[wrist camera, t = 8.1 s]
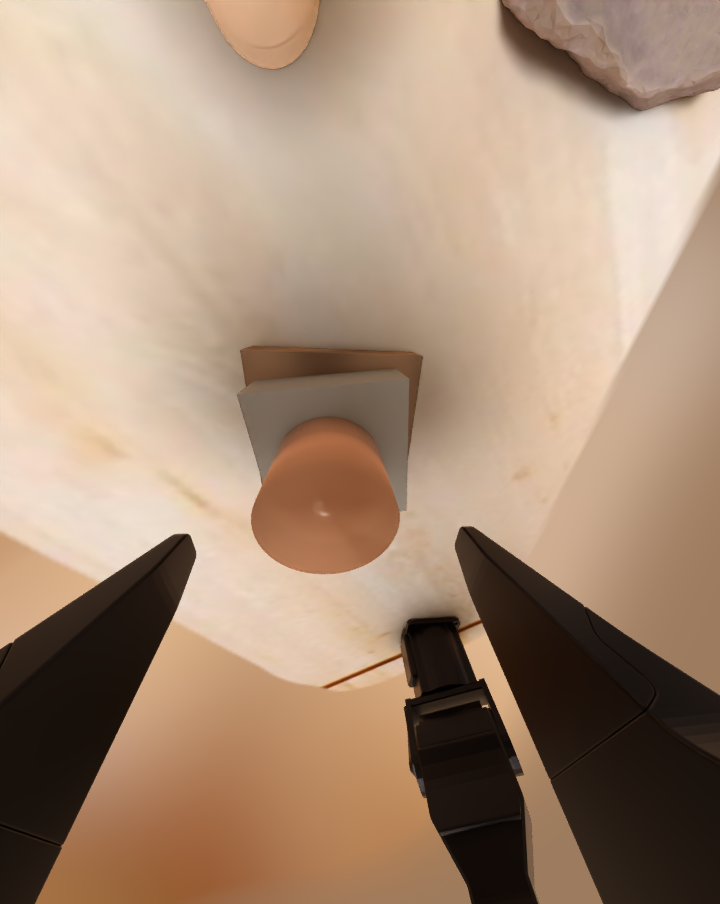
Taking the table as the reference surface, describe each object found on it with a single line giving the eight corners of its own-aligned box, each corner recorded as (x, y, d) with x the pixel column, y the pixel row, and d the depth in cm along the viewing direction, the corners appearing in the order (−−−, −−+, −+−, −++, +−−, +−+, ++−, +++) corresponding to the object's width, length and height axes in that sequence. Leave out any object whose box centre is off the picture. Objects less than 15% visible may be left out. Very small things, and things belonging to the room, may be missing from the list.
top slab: (395, 368, 15) (409, 378, 12) (395, 483, 18) (406, 510, 16) (255, 380, 14) (236, 393, 12) (284, 495, 18) (275, 525, 15)
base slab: (409, 351, 17) (422, 356, 14) (393, 476, 22) (401, 498, 19) (255, 345, 16) (240, 349, 13) (273, 477, 21) (264, 500, 18)
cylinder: (383, 415, 13) (405, 459, 9) (378, 503, 15) (394, 569, 11) (267, 417, 12) (235, 465, 8) (283, 509, 15) (265, 579, 11)
